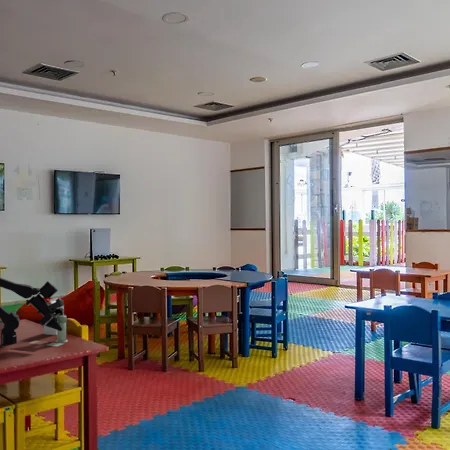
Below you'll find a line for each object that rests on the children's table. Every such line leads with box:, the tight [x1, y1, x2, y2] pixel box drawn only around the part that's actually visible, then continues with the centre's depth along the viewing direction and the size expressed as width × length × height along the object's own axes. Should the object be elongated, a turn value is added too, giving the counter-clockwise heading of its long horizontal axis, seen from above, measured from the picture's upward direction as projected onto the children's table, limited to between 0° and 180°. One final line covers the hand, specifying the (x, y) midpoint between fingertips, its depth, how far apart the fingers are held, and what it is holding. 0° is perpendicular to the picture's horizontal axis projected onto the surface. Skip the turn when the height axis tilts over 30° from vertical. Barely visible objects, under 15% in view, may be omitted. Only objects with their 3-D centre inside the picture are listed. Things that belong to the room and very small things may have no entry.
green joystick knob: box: [56, 314, 68, 343], centre depth 236 cm, size 4×4×12 cm
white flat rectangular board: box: [27, 339, 68, 348], centre depth 233 cm, size 18×14×1 cm
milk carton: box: [43, 297, 65, 336], centre depth 253 cm, size 7×7×19 cm
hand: (64, 328), depth 236 cm, fingers open, 8 cm apart
